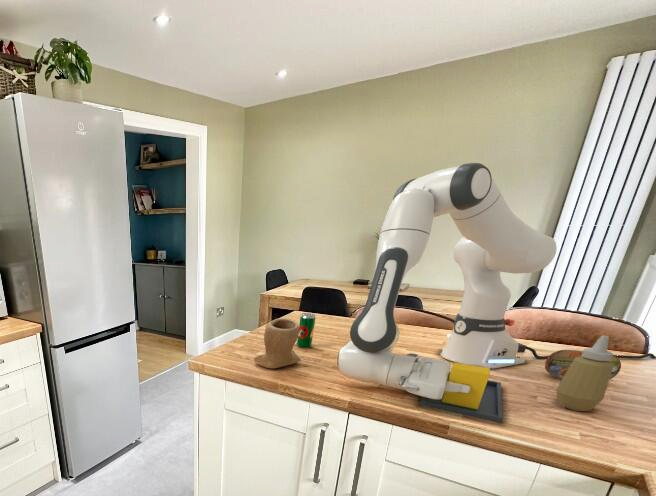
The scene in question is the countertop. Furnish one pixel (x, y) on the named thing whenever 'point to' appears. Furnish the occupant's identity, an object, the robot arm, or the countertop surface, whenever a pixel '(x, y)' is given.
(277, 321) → the stone cup
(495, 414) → the tray
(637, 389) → the countertop surface
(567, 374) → the squeeze bottle
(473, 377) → the sponge
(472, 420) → the countertop surface
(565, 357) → the tin
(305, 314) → the soda can
